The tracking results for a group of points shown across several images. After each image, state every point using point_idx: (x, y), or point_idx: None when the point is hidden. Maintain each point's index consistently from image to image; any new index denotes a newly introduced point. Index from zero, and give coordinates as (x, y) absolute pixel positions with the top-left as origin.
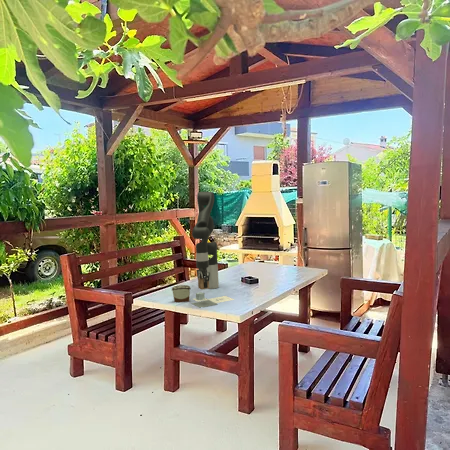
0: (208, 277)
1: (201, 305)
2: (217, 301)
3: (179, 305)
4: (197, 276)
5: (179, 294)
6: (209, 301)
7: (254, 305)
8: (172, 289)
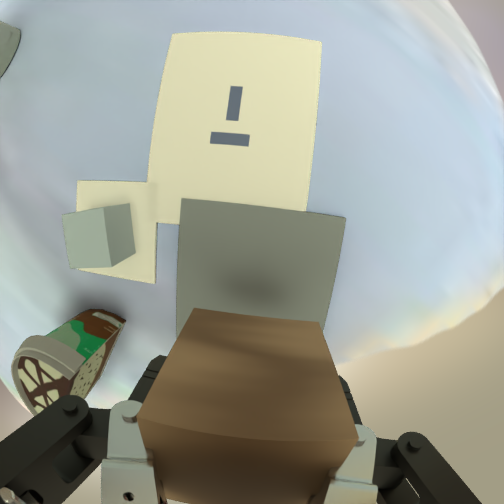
0: (448, 489)
1: None
2: (268, 162)
3: None
4: (67, 464)
5: (83, 388)
6: (229, 221)
7: (482, 84)
8: None
